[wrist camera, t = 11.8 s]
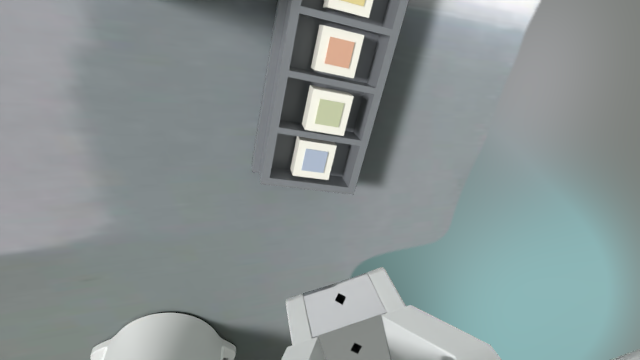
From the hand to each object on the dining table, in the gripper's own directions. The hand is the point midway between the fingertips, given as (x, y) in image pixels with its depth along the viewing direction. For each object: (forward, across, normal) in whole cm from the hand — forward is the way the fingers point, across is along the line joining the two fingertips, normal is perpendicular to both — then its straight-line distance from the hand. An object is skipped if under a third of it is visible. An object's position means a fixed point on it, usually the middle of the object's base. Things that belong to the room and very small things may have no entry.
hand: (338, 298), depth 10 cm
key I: (+27, -5, +2) cm, 28 cm away
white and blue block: (+28, -3, +7) cm, 29 cm away
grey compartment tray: (+31, -6, 0) cm, 32 cm away
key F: (+28, -7, -3) cm, 30 cm away
